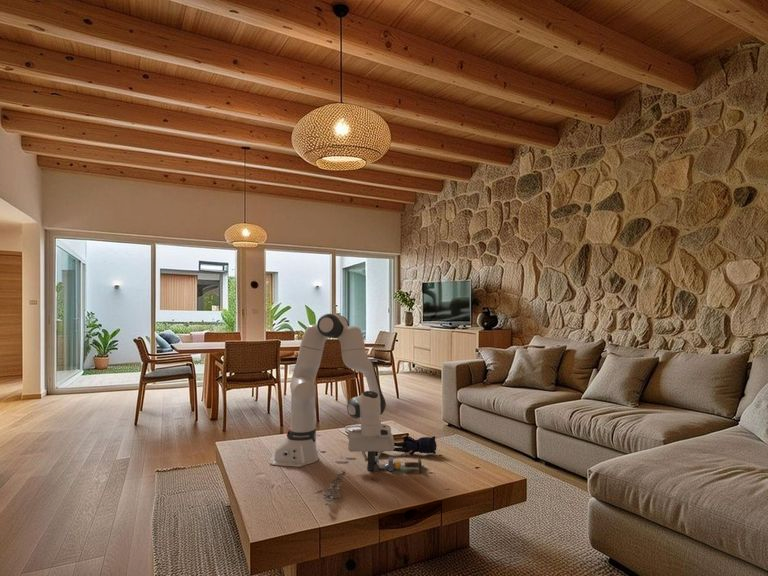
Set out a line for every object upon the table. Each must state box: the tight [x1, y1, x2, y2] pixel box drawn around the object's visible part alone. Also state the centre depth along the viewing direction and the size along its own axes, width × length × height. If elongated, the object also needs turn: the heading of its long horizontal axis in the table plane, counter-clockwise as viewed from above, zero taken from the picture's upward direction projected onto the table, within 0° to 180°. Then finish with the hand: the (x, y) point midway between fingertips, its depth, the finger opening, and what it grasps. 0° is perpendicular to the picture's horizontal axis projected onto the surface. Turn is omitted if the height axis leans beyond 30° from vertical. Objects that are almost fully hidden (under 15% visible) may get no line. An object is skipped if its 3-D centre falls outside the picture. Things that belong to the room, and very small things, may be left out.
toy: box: [375, 434, 437, 457], centre depth 218 cm, size 10×9×30 cm
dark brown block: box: [373, 460, 380, 473], centre depth 199 cm, size 2×6×3 cm, turn 178°
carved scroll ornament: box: [324, 470, 346, 506], centre depth 173 cm, size 5×30×4 cm, turn 174°
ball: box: [393, 460, 402, 470], centre depth 199 cm, size 4×4×4 cm
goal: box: [404, 453, 422, 473], centre depth 199 cm, size 7×9×5 cm
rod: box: [366, 451, 394, 472], centre depth 199 cm, size 12×5×8 cm, turn 88°
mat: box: [391, 464, 426, 475], centre depth 199 cm, size 14×10×1 cm
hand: (371, 461), depth 199 cm, fingers open, 3 cm apart
